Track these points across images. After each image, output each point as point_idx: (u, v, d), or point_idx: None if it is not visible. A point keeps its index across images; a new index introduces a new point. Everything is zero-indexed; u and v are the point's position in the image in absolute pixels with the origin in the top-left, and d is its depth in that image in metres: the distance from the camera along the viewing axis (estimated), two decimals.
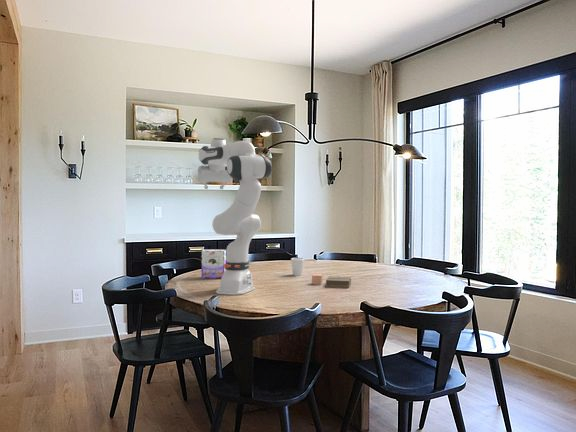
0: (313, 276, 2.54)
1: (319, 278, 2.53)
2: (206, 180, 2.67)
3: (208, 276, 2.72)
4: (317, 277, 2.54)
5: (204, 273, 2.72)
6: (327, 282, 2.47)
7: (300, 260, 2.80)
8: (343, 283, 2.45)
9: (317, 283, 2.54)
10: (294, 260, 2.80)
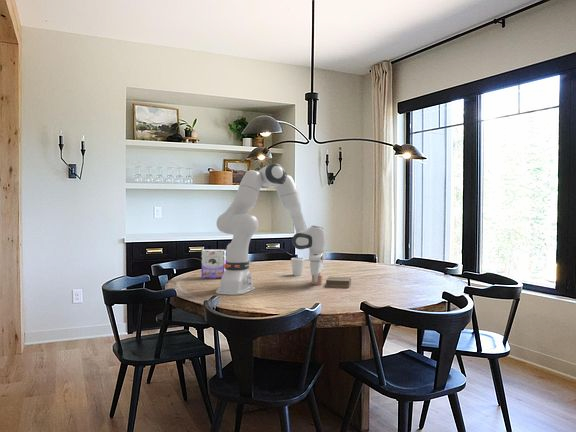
0: (313, 276, 2.54)
1: (319, 278, 2.53)
2: None
3: (208, 276, 2.72)
4: None
5: (204, 273, 2.72)
6: (327, 282, 2.47)
7: (300, 260, 2.80)
8: (343, 283, 2.45)
9: (317, 283, 2.54)
10: (294, 260, 2.80)
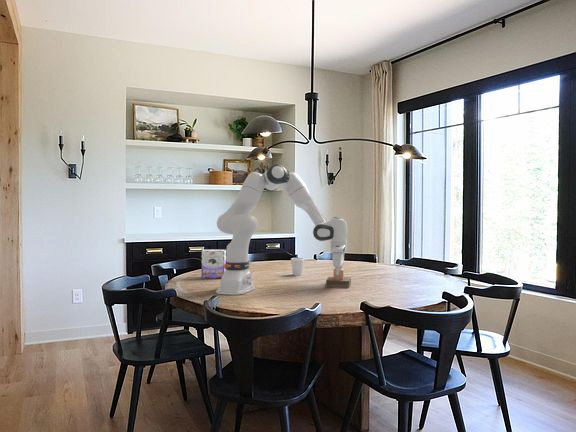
0: (335, 271, 2.49)
1: (341, 273, 2.49)
2: None
3: (208, 276, 2.72)
4: None
5: (204, 273, 2.72)
6: (327, 282, 2.47)
7: (300, 260, 2.80)
8: (343, 283, 2.45)
9: (339, 278, 2.49)
10: (294, 260, 2.80)
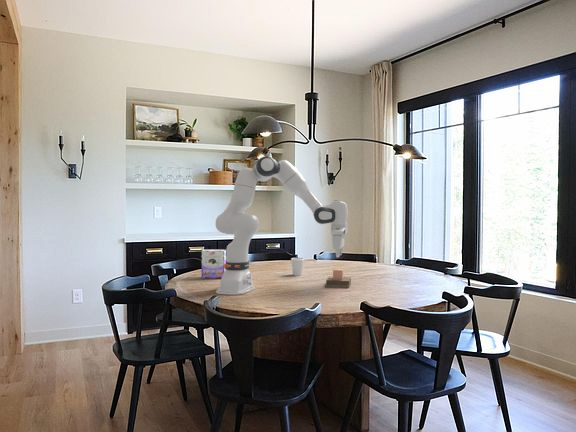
0: (334, 271, 2.49)
1: (340, 273, 2.48)
2: None
3: (208, 276, 2.72)
4: (338, 272, 2.49)
5: (204, 273, 2.72)
6: (327, 282, 2.47)
7: (300, 260, 2.80)
8: (343, 283, 2.45)
9: (338, 278, 2.49)
10: (294, 260, 2.80)
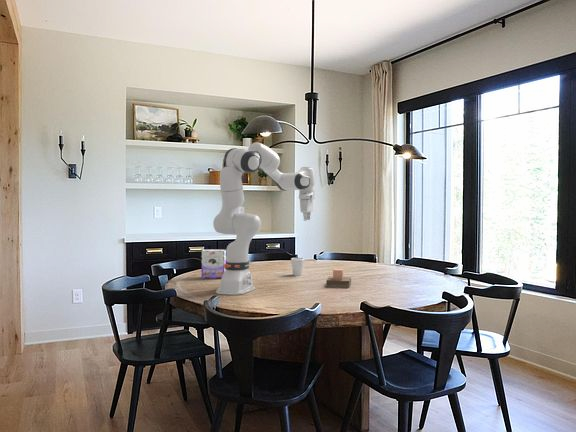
0: (334, 271, 2.49)
1: (340, 273, 2.49)
2: None
3: (208, 276, 2.72)
4: (338, 272, 2.49)
5: (204, 273, 2.72)
6: (327, 282, 2.47)
7: (300, 260, 2.80)
8: (343, 283, 2.45)
9: (338, 278, 2.49)
10: (294, 260, 2.80)
